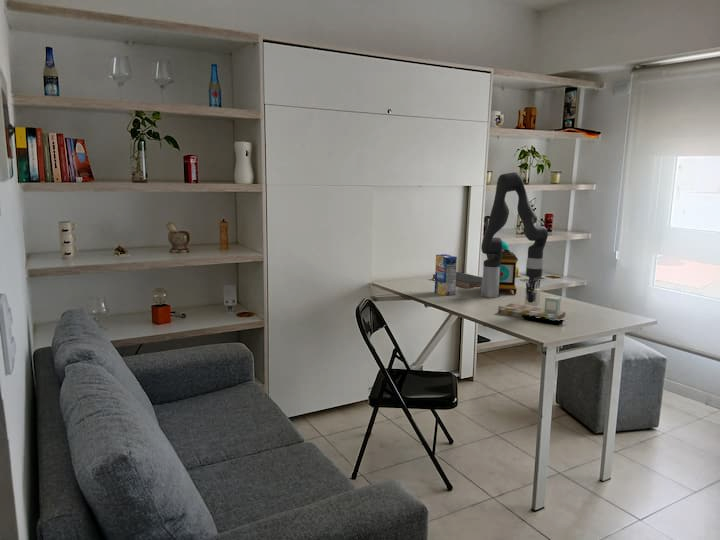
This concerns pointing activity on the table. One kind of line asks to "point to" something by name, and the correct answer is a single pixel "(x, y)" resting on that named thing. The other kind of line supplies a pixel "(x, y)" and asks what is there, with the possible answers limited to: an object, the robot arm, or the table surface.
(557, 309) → the green carton
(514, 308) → the walnut shelf
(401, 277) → the table surface
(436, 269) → the beverage box
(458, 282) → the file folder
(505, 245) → the decorative lantern
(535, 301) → the cream carton
